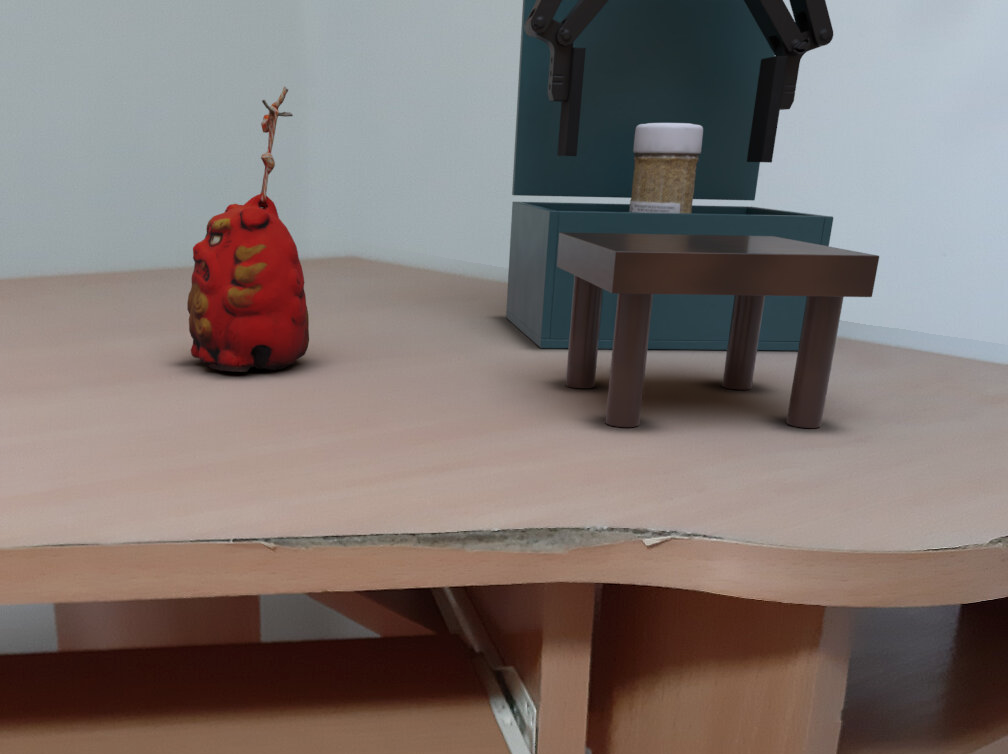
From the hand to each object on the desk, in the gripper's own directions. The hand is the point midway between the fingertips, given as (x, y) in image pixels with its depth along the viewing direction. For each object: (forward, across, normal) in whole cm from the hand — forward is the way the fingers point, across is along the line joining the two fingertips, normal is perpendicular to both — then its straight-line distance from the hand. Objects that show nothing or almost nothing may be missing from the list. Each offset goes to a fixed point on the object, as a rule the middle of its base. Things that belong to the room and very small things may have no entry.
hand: (663, 159), depth 73 cm
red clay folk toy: (+12, +28, +14) cm, 33 cm away
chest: (+12, 0, 0) cm, 12 cm away
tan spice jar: (+11, 0, 0) cm, 11 cm away
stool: (+12, +5, +24) cm, 27 cm away
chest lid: (-5, 0, -7) cm, 8 cm away
